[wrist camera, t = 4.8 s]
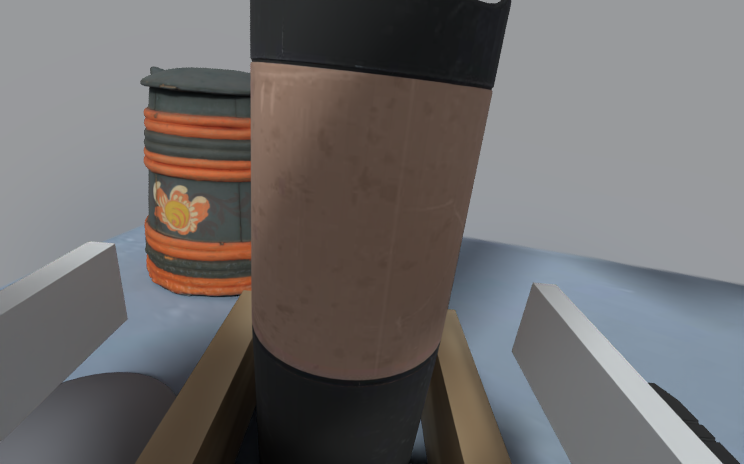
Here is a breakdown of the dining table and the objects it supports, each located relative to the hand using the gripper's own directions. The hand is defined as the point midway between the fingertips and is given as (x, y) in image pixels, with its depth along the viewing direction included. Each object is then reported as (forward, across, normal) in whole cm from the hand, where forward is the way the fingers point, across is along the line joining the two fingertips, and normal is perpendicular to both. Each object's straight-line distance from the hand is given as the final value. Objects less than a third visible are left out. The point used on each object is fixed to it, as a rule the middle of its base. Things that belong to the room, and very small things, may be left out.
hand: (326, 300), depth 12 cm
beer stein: (+22, -9, -11) cm, 26 cm away
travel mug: (+3, +1, -11) cm, 11 cm away
